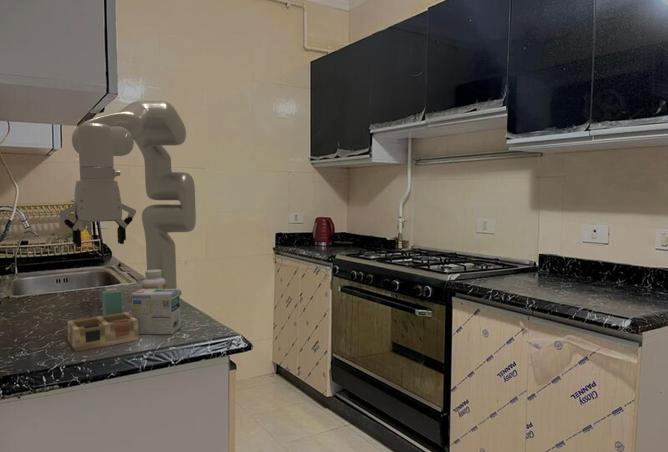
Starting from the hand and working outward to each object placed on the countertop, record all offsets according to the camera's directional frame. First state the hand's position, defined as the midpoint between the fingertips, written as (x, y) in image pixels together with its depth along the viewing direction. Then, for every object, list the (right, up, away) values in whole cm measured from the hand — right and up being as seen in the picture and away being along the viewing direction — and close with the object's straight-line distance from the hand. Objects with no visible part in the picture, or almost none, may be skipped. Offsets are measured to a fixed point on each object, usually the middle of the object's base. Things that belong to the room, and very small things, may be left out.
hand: (100, 245), depth 121 cm
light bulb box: (+11, -23, +9) cm, 27 cm away
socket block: (0, -24, +1) cm, 24 cm away
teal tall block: (-2, -23, +12) cm, 26 cm away
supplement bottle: (+4, -22, +27) cm, 35 cm away
